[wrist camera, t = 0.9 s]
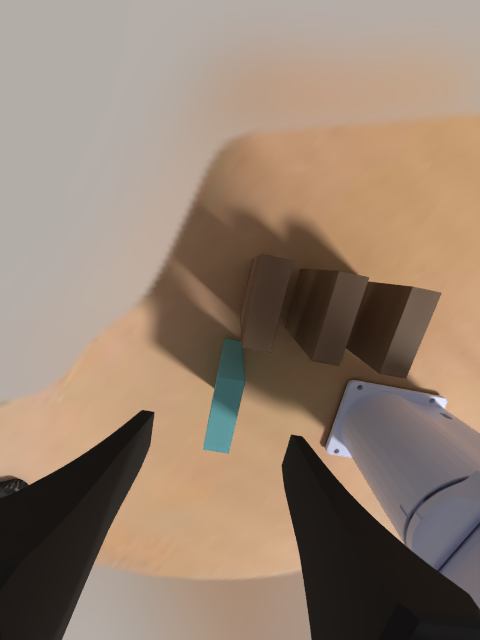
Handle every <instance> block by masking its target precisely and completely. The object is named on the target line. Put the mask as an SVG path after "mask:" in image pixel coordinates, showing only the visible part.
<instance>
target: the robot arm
mask: <svg viewBox="0 0 480 640" xmlns="http://www.w3.org/2000/svg"><path fill="white" fill-rule="evenodd" d="M359 385H360V387H359V388H357V387H358V386H359ZM430 399H431V400H430ZM446 404H447V399H446V398H444V397H443V396H439V395H434V394H428V393H423V392H418V391H412V390H407V389H401V388H396V387H391V386H385V385H380V384H374V383H369V382H364V381H358V380H350V381H349V382H348V384H347V387H346V390H345V392H344V395H343V398H342V401H341V404H340V407H339V409H338V412H337V415H336V418H335V421H334V424H333V427H332V429H331V432H330V435H329V438H328V441H327V444H326V446H325V449H326V452H327V453H328V454H332V455H338V456H344V457H350V458H353V460H354V461H355V463H356V465H357V466H358V468H359V470H360V471H361V473H362V475H363V476H364V478H365V480H366V481H367V483H368V485H369V486H370V488H371V490H372V491H373V493H374V495H375V496H376V498H377V499H378V501H379V503H380V504H381V506H382V508H383V509H384V511H385V513H386V514H387V516H388V518H389V519H390V521H391V523H392V524H393V526H394V528H395V529H396V531H397V533H398V534H399V536H400V538H401V539H402V541H403V543H404V544H405V545H404V544H403V543H402V542H401V541H399V540H398V539H397V538H396V537H395V536H394V535H393V534H391V533H390V532H389V531H388V530H387V529H386V528H385V527H384V526H382V525H381V524H380V523H379V522H378V521H377V520H376V519H375V518H374V517H373V516H372V515H371V514H370V513H369V512H368V511H367V510H366V509H364V508H363V507H362V506H361V505H360V504H359V503H358V502H357V501H356V499H355V498H354V497H353V496H352V495H351V494H350V493H349V492H348V491H347V490H346V489H345V488H344V486H343V485H342V484H341V483H340V482H339V481H338V480H337V479H336V477H335V476H334V475H333V474H332V473H331V472H330V470H329V469H328V468H327V467H326V465H325V464H324V463H323V462H322V460H321V459H320V458H319V457H318V455H317V454H316V453H315V452H314V450H313V449H312V448H311V447H310V445H309V444H308V443H307V441H306V440H305V439H304V438H303V437H302V436H296V435H291V437H290V440H289V444H288V447H287V450H286V453H285V457H284V460H283V463H282V473H283V481H284V489H285V493H286V497H287V502H288V506H289V510H290V515H291V519H292V523H293V527H294V532H295V536H296V540H297V545H298V550H299V554H300V560H301V567H302V573H303V579H304V586H305V592H306V600H307V607H308V614H309V622H310V629H311V638H312V640H480V433H478V432H477V431H475V430H474V429H472V428H471V427H470V426H468V425H467V424H465V423H464V422H462V421H461V420H459V419H458V418H456V417H455V416H454V415H452V414H451V413H449V412H448V411H446V410H445V407H446ZM153 420H154V412H151V411H145V410H142V411H140V412H139V413H138V414H137V415H135V416H134V417H133V418H132V419H130V420H129V421H128V422H127V423H126V424H124V425H123V426H122V427H121V428H119V429H118V430H117V431H115V432H114V433H113V434H111V435H110V436H109V437H107V438H106V439H105V440H103V441H102V442H100V443H99V444H98V445H96V446H95V447H93V448H92V449H90V450H89V451H87V452H86V453H84V454H83V455H81V456H80V457H78V458H77V459H75V460H74V461H72V462H70V463H69V464H67V465H65V466H64V467H62V468H60V469H58V470H57V471H55V472H53V473H51V474H49V475H47V476H46V477H44V478H42V479H40V480H38V481H36V482H34V483H32V484H30V485H28V486H26V487H24V488H22V489H20V490H18V491H16V492H14V493H12V494H10V495H8V496H5V497H3V498H1V499H0V640H62V638H63V635H64V633H65V631H66V628H67V626H68V624H69V621H70V619H71V616H72V614H73V611H74V609H75V607H76V604H77V602H78V599H79V597H80V595H81V592H82V590H83V588H84V585H85V583H86V581H87V578H88V576H89V573H90V571H91V569H92V566H93V564H94V562H95V559H96V557H97V555H98V553H99V550H100V548H101V546H102V544H103V541H104V539H105V537H106V534H107V532H108V530H109V528H110V526H111V524H112V522H113V520H114V518H115V516H116V514H117V512H118V510H119V508H120V507H121V505H122V503H123V501H124V499H125V497H126V495H127V493H128V491H129V490H130V488H131V486H132V484H133V482H134V480H135V478H136V476H137V474H138V472H139V471H140V469H141V467H142V464H143V462H144V459H145V457H146V455H147V452H148V449H149V447H150V443H151V435H152V427H153ZM335 449H337V450H335Z"/></svg>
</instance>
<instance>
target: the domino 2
mask: <svg viewBox="0 0 480 640" xmlns="http://www.w3.org/2000/svg"><path fill="white" fill-rule="evenodd" d="M368 280H369V277H365V276H360V275H356V274H351V273H346V272H342V271H329V270H308V269H301V270H300V274H299V278H298V282H297V285H296V289H295V293H294V297H293V301H292V304H291V308H290V312H289V316H288V320H287V324H286V328H287V330H288V331H289V332H290V333H291V335H292V336H293V337H294V339H295V340H296V341H297V342H298V344H299V345H300V346H301V347H302V349H303V350H304V351H305V352H306V354H307V355H308V356H309V357H310V359H311V360H312V361H316V362H321V363H326V364H331V365H337V366H340V363H341V360H342V357H343V354H344V351H345V348H346V345H347V342H348V339H349V336H350V333H351V330H352V327H353V324H354V321H355V318H356V315H357V312H358V309H359V306H360V303H361V300H362V297H363V294H364V291H365V289H366V286H367V283H368Z"/></svg>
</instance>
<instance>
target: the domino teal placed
mask: <svg viewBox="0 0 480 640" xmlns="http://www.w3.org/2000/svg"><path fill="white" fill-rule="evenodd" d="M244 385H245V372H244V358H243V348H242V341H237V340H232V339H227V338H224V343H223V348H222V353H221V358H220V363H219V368H218V373H217V378H216V383H215V388H214V394H213V399H212V405H211V410H210V415H209V421H208V426H207V431H206V437H205V442H204V448H203V450H210V451H216V452H222V453H229V450H230V445H231V441H232V437H233V432H234V428H235V424H236V419H237V415H238V411H239V407H240V402H241V398H242V394H243V389H244Z"/></svg>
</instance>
